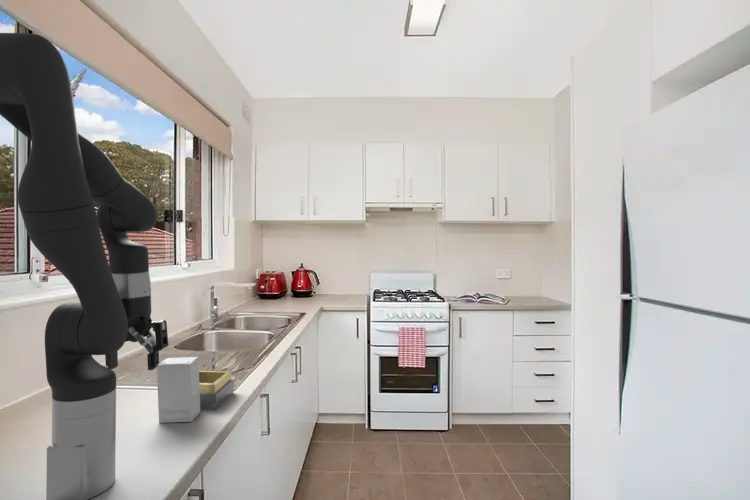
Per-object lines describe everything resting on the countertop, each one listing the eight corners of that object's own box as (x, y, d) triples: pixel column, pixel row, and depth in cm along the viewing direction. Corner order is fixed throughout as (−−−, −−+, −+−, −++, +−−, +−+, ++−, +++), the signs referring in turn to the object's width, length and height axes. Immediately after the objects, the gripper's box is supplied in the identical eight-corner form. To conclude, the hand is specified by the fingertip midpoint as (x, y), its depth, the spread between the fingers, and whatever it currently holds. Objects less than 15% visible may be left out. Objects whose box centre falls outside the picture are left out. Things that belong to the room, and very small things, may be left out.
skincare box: (200, 413, 102) (201, 356, 102) (191, 423, 96) (191, 363, 96) (167, 413, 101) (168, 356, 101) (155, 424, 95) (156, 363, 95)
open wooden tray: (215, 409, 104) (216, 385, 104) (163, 408, 104) (164, 384, 104) (237, 389, 119) (237, 367, 119) (191, 388, 119) (191, 366, 119)
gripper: (83, 296, 78) (86, 374, 80) (153, 297, 78) (155, 376, 79) (109, 289, 86) (111, 361, 87) (173, 290, 86) (175, 362, 87)
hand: (132, 368), depth 83 cm, fingers open, 8 cm apart
